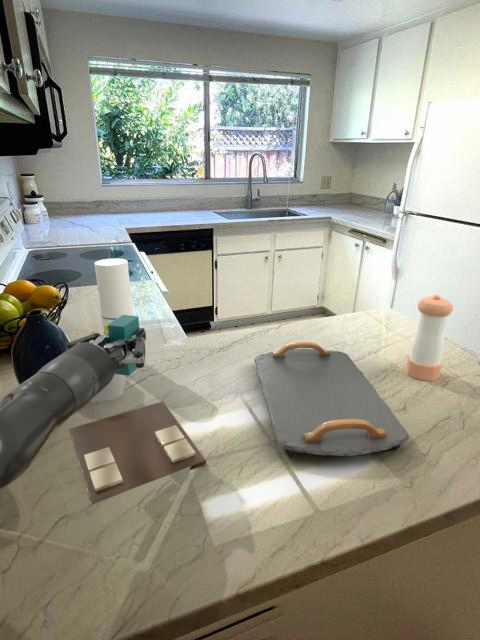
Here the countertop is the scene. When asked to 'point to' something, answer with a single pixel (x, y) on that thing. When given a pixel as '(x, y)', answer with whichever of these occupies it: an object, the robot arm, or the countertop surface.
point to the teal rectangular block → (123, 336)
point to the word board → (132, 450)
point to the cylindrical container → (113, 289)
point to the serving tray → (324, 403)
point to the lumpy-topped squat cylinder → (111, 389)
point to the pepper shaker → (429, 339)
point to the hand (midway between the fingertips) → (133, 332)
